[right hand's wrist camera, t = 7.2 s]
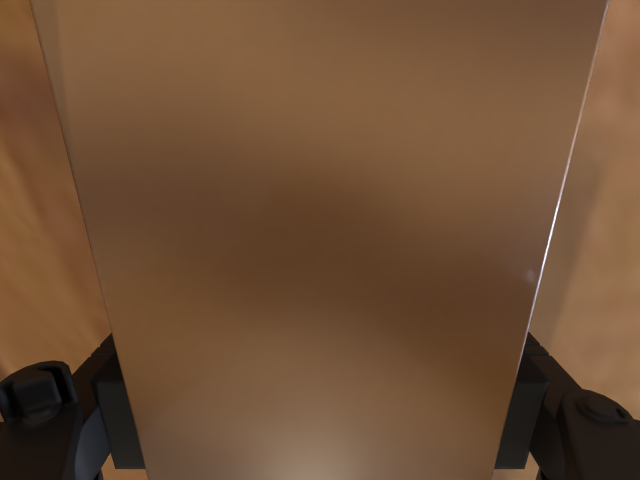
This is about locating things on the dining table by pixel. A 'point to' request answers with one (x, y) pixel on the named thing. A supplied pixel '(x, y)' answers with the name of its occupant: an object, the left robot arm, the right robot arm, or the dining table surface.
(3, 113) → the dining table surface
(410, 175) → the long beam
